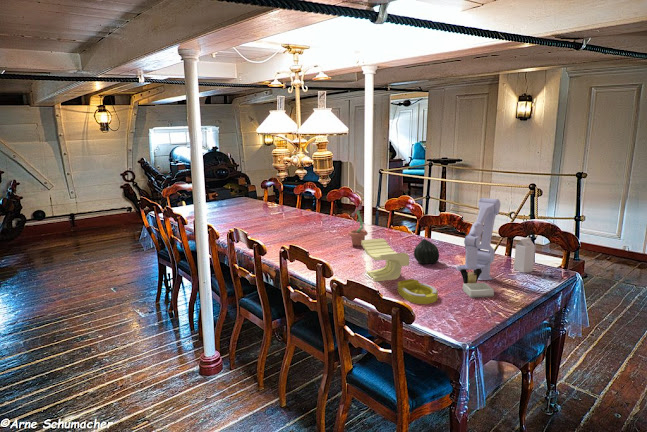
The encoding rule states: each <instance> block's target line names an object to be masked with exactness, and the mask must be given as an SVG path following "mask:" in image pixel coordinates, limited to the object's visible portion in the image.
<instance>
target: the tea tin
mask: <svg viewBox="0 0 647 432" xmlns="http://www.w3.org/2000/svg"><path fill="white" fill-rule="evenodd" d="M467 272H468V274H467V283H466V284H468V283H476V277H477V275H476V274H475V273H474V272H473V271H467ZM463 284H465V283H464V282H463Z"/></svg>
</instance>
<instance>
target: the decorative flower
mask: <svg viewBox="0 0 647 432" xmlns="http://www.w3.org/2000/svg"><path fill="white" fill-rule="evenodd" d="M362 209H363V205H362V203H359V205H358V206H357V207H356V208H355V210H354V211H353V212H352V213H351V217H355V215H357V217H358V218H357V219H356V223H358V222H359V228H358V229H351V230H349V231H348V232H347V234H348V236H349V237H351V244H352V245H353V246H357V247H358V246H359V247H360V246H361V247H362V245H361V240H366V238H365V237H366V236H367V235H369V234H368V231H367V230H365V229H364V226H363V225H365V222H363V218H362V216H361V214H360V213H361V211H360V210H362Z"/></svg>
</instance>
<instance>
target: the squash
mask: <svg viewBox="0 0 647 432" xmlns="http://www.w3.org/2000/svg"><path fill="white" fill-rule="evenodd" d="M413 256H414V258H415V260H416V261H417V262H418V263H420V264H423V265H425V264H428V263H429V264H436V263H437V262H438V261H439V258H440V252H439V248H438V247H437V246H436V244H434V243H432V242H431V241H430V240H428V239H425V238H424V239H422V240H421V241H420V242H419V243H418V244H417V245H416V246H415V248H414V250H413Z"/></svg>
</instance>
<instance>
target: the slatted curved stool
mask: <svg viewBox="0 0 647 432" xmlns="http://www.w3.org/2000/svg"><path fill="white" fill-rule="evenodd" d="M361 247H362V248H363V249H364V252H366V255H368V256H369V257H370V258H372V260H374V261H385V266H384V267H382V268H379V269H374V270H373V269H372V270H368V271H366V275H367V274H368V275H369V276H370V277H371V278H370V277H369V276H368V275H367V276H368V277H369V278H370V279H372V278H373V279H372V281H374V282H375V281H377V282H382V281H384V282H385V281H391V280H392V281H393V280H398V279H399V278H400V276H401V273H402V267H408V266H410V256H409V254H408V253H407V252H398V253H397V251H395V250H394V249H392V247H391V246H390V245H389V243H388V241H387V240H386V239H384V238H373V239H371V238H370V239H365V240H361Z"/></svg>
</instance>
